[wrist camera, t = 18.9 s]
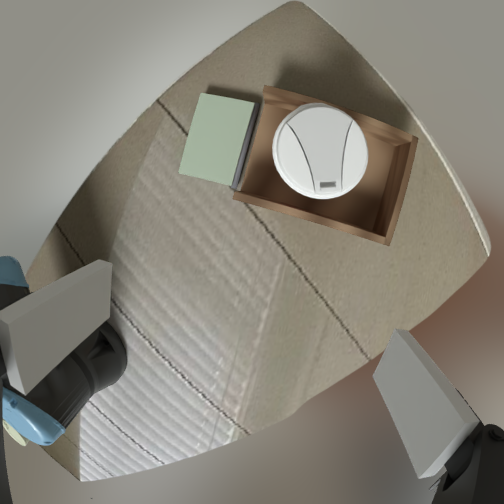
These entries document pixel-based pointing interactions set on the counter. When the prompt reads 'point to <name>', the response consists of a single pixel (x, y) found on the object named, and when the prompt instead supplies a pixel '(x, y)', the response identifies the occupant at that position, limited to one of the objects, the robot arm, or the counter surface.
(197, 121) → the book
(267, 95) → the crate
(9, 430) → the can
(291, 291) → the counter surface
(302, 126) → the paper cup
